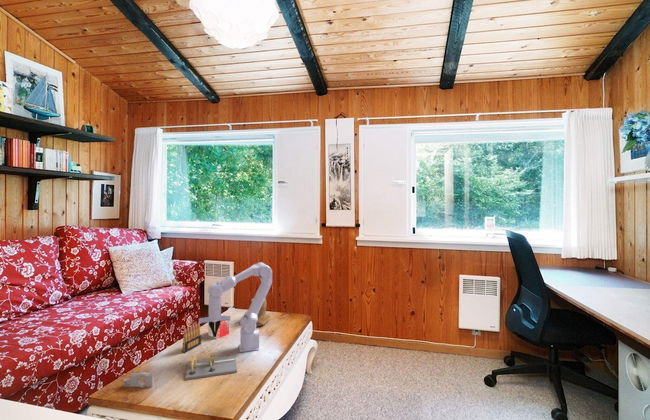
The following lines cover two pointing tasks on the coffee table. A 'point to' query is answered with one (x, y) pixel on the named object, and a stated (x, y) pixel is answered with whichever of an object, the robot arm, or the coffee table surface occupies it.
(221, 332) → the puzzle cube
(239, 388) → the coffee table surface
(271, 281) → the robot arm
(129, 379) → the garden wall model
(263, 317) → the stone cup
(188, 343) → the ammunition clip
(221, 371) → the pitch plate
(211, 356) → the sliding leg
